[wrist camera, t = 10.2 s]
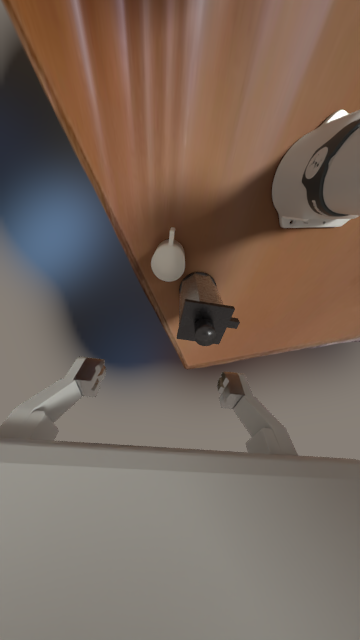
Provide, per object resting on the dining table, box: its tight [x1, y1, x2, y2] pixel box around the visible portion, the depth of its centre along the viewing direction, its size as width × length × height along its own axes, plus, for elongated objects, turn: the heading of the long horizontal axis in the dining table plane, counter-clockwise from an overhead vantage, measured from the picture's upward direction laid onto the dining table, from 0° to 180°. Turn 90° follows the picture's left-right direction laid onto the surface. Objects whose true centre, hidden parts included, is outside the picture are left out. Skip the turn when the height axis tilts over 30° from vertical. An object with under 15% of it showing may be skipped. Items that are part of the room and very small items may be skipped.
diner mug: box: [151, 227, 185, 282], centre depth 41 cm, size 8×11×9 cm
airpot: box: [177, 272, 240, 344], centre depth 44 cm, size 15×12×18 cm
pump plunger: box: [194, 319, 217, 346], centre depth 42 cm, size 4×4×21 cm
